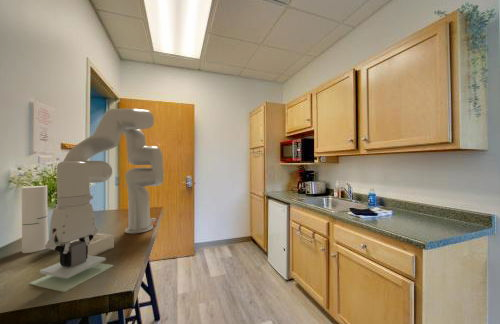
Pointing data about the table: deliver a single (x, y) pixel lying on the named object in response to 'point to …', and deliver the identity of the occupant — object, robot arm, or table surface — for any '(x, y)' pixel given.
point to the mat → (70, 278)
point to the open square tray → (99, 244)
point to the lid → (74, 262)
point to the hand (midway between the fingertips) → (74, 261)
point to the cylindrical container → (34, 218)
